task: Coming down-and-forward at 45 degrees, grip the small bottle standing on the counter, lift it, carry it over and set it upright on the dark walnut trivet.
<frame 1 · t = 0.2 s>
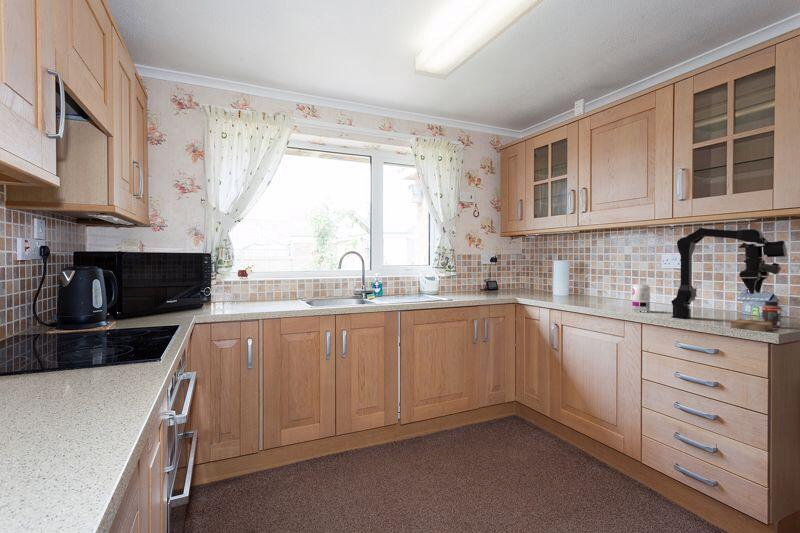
hand: (755, 293, 175), 14 cm above the countertop, tool pointing down, fingers open, 9 cm apart
supplement bottle: (770, 327, 172), on the countertop
trivet: (751, 328, 169), on the countertop
supplement can: (640, 311, 220), on the countertop
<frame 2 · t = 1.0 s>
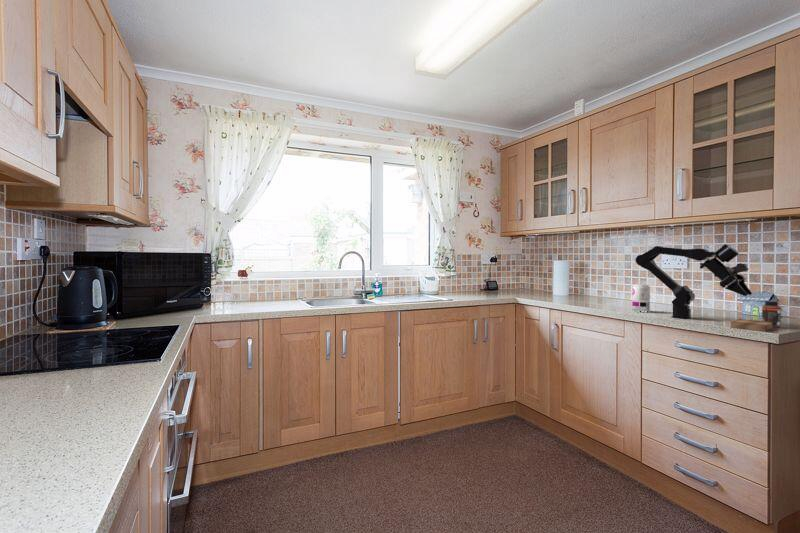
hand: (748, 294, 178), 13 cm above the countertop, tool tilted 45°, fingers open, 9 cm apart
nothing on the countertop moved.
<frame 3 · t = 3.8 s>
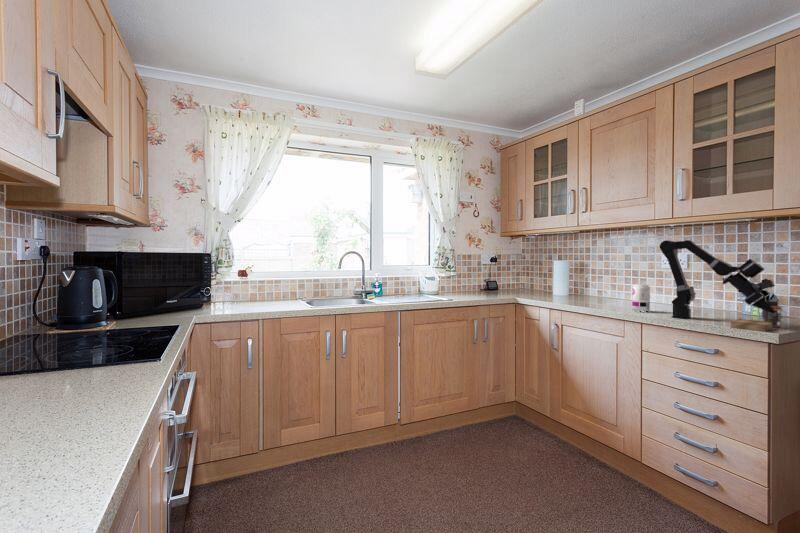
hand: (775, 312, 171), 7 cm above the countertop, tool tilted 45°, fingers closed on supplement bottle, 6 cm apart
supplement bottle: (770, 327, 172), on the countertop, touching gripper
everything else where it was.
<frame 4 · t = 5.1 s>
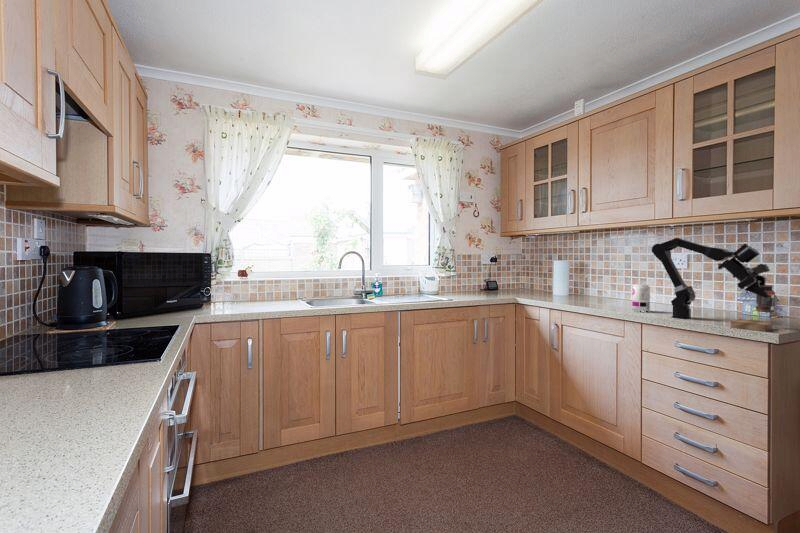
hand: (769, 296, 170), 13 cm above the countertop, tool tilted 45°, fingers closed on supplement bottle, 6 cm apart
supplement bottle: (764, 312, 172), point 6 cm above the countertop, touching gripper
everything else where it was.
when the fingers open (10 cm above the countertop, at t = 6.7 s): supplement bottle drops 1 cm, resting on trivet.
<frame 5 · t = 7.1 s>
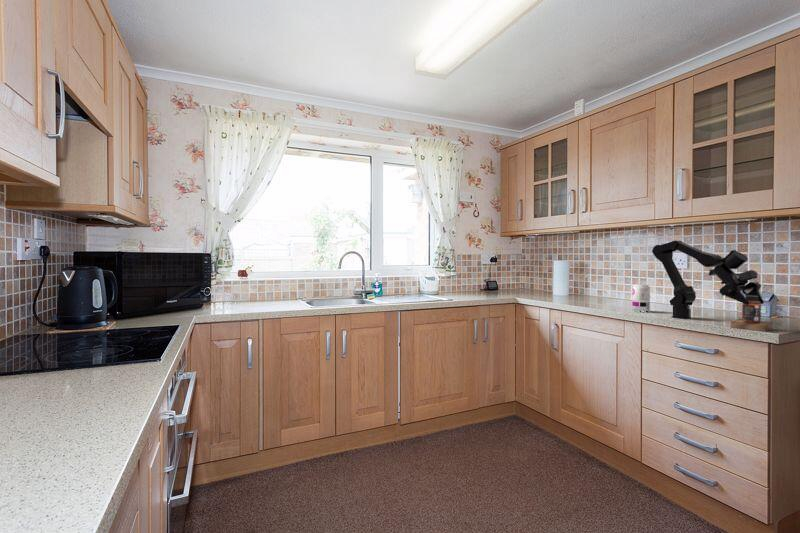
hand: (755, 303, 167), 11 cm above the countertop, tool tilted 45°, fingers open, 9 cm apart
supplement bottle: (751, 322, 169), point 2 cm above the countertop, touching trivet
everything else where it was.
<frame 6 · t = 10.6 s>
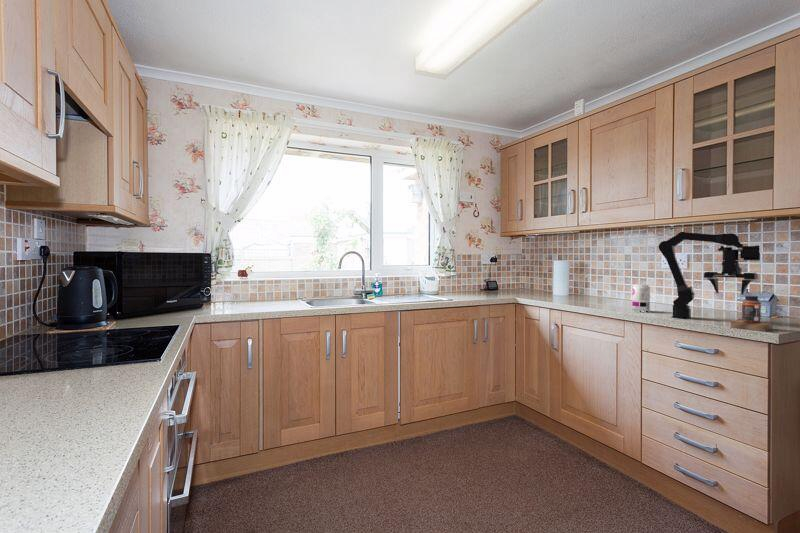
hand: (729, 294, 185), 13 cm above the countertop, tool pointing down, fingers open, 9 cm apart
nothing on the countertop moved.
at the end: supplement bottle inside the target area on the trivet (0.2 cm from its centre), point 2.3 cm above the trivet's base; supplement bottle tilted 0°; the gripper is holding nothing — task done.
